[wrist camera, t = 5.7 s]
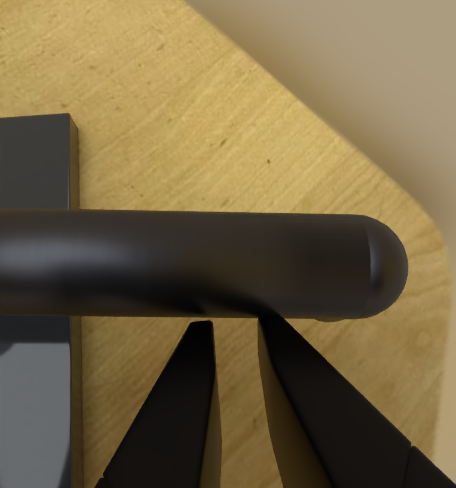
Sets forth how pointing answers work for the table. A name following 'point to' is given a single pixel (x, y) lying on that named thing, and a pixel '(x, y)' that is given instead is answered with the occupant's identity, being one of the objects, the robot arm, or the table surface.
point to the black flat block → (40, 320)
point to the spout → (197, 264)
